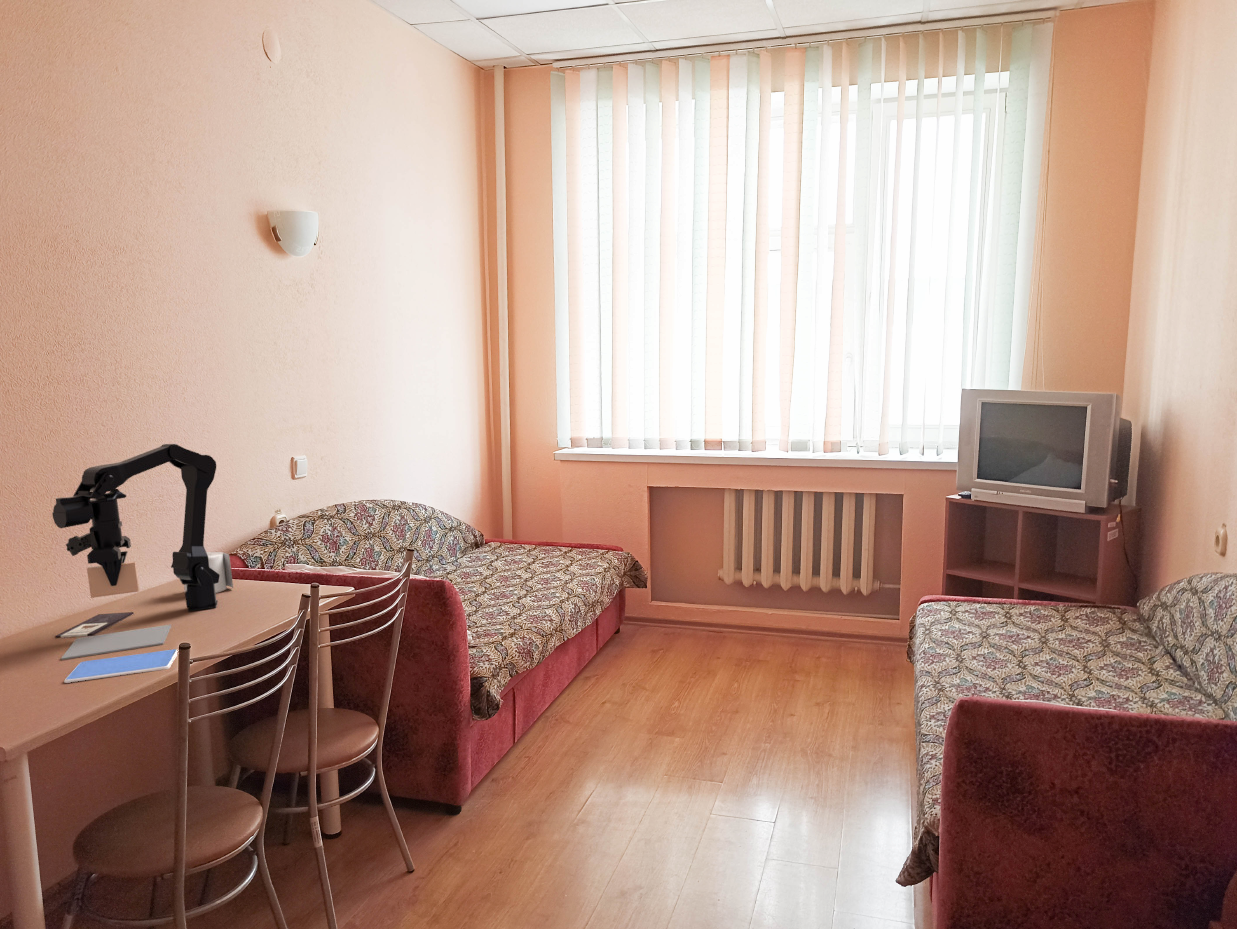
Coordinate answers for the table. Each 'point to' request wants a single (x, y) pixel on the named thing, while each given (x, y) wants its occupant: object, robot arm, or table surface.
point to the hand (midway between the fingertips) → (114, 584)
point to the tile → (102, 585)
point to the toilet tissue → (220, 570)
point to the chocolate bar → (94, 625)
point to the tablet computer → (122, 665)
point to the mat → (117, 642)
